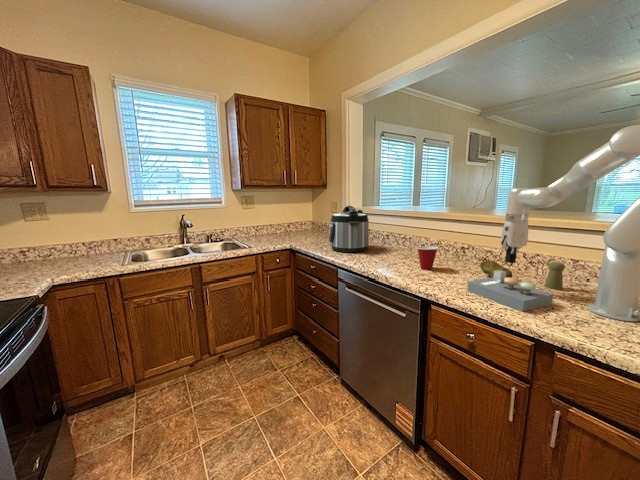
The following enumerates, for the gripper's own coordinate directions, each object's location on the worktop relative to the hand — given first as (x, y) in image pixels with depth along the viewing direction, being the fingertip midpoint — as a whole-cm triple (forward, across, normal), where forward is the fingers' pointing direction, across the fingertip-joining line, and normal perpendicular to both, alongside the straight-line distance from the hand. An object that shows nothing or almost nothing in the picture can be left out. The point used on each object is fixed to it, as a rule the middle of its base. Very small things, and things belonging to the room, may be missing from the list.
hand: (509, 262), depth 113 cm
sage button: (+8, -10, -14) cm, 19 cm away
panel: (+12, -10, -7) cm, 17 cm away
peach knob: (+8, -10, -8) cm, 15 cm away
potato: (+12, +9, +12) cm, 19 cm away
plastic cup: (+13, -10, +37) cm, 40 cm away
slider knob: (+7, -6, -1) cm, 9 cm away
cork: (+11, +19, -7) cm, 23 cm away
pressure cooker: (+15, -26, +98) cm, 102 cm away
